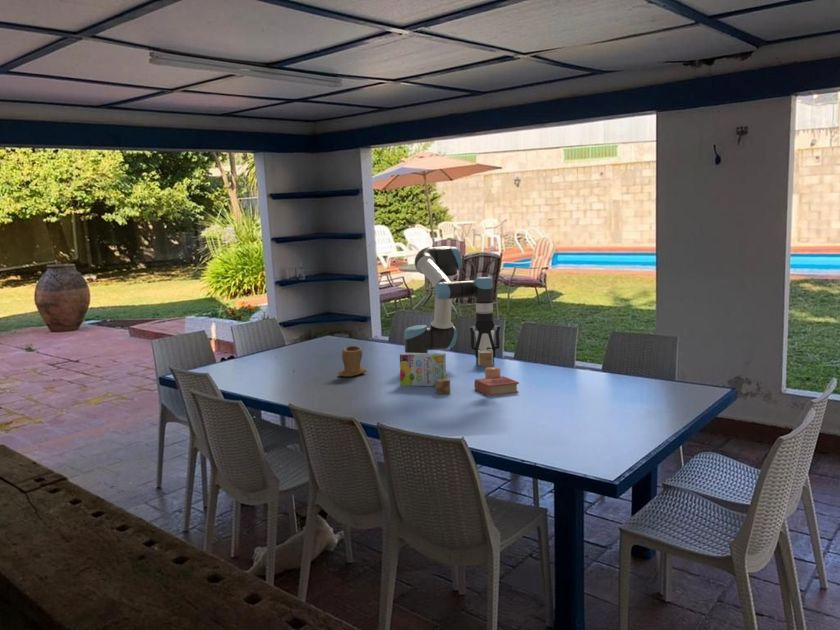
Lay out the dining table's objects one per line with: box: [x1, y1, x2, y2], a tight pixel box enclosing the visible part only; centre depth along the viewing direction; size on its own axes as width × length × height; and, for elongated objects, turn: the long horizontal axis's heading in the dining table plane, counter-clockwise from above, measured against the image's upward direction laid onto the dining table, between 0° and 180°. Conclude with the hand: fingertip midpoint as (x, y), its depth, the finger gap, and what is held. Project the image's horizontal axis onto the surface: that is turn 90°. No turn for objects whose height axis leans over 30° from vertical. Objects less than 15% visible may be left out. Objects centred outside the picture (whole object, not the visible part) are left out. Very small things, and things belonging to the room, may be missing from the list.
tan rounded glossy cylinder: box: [484, 366, 501, 378], centre depth 334 cm, size 7×7×8 cm
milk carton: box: [474, 329, 496, 364], centre depth 384 cm, size 9×9×20 cm
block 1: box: [435, 378, 451, 396], centre depth 322 cm, size 5×5×6 cm
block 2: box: [479, 351, 493, 367], centre depth 320 cm, size 5×5×6 cm
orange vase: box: [337, 345, 368, 378], centre depth 365 cm, size 15×12×15 cm
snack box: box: [399, 352, 447, 387], centre depth 339 cm, size 21×6×15 cm, turn 74°
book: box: [474, 375, 520, 397], centre depth 323 cm, size 14×15×5 cm
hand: (485, 364), depth 320 cm, fingers closed on block 2, 5 cm apart
